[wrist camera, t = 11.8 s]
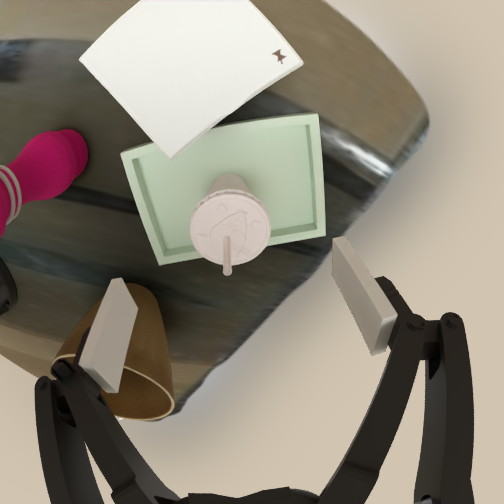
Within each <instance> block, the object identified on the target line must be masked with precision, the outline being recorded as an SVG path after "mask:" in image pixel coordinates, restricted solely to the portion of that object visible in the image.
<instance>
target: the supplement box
mask: <svg viewBox="0 0 504 504" xmlns="http://www.w3.org/2000/svg"><path fill="white" fill-rule="evenodd" d="M79 61H80V62H82V63H83V64H84V65H85V67H86V68H87V69H88V70H89V71H90V72H91V73H92V74H93V75H94V76H95V77H96V79H97V80H98V81H99V82H100V83H101V84H102V85H103V86H104V87H105V88H106V89H107V90H108V91H109V92H110V93H111V95H112V96H113V97H114V98H115V99H116V100H117V101H118V102H119V103H120V104H121V105H122V106H123V108H124V109H125V110H126V111H127V112H128V113H129V114H130V116H131V117H132V118H133V119H134V120H135V121H136V123H137V124H138V125H139V126H140V127H141V128H142V129H143V130H144V132H145V133H146V134H147V135H148V136H149V137H150V138H151V140H152V141H153V142H154V143H155V144H156V145H157V147H158V148H159V149H160V150H161V151H162V152H163V153H164V154H165V156H166V157H167V158H168V159H169V160H173V159H175V158H176V157H177V156H179V155H180V154H181V153H182V152H183V151H184V150H185V149H187V148H188V147H189V146H190V145H191V144H192V143H194V142H195V141H196V140H197V139H198V138H200V137H201V136H202V135H203V134H205V133H206V132H207V131H208V130H210V129H211V128H212V127H213V126H215V125H216V124H217V123H218V122H220V121H221V120H222V119H224V118H225V117H226V116H228V115H229V114H231V113H232V112H234V111H235V110H236V109H238V108H239V107H240V106H241V105H243V104H244V103H245V102H247V101H248V100H250V99H251V98H252V97H254V96H255V95H257V94H258V93H260V92H261V91H263V90H264V89H266V88H267V87H269V86H270V85H272V84H273V83H275V82H276V81H278V80H279V79H281V78H283V77H284V76H286V75H287V74H289V73H291V72H292V71H294V70H296V69H297V68H299V67H301V66H302V65H303V61H302V60H301V58H300V57H299V56H298V54H297V53H296V52H295V51H294V49H293V48H292V47H291V46H290V44H289V43H288V42H287V41H286V39H285V38H284V37H283V36H282V35H281V34H280V32H279V31H278V30H277V29H276V28H275V27H274V26H273V25H272V23H271V22H270V21H269V20H268V19H267V18H266V17H265V16H264V15H263V14H262V13H261V12H260V11H259V10H258V9H257V8H256V7H255V6H254V5H253V4H252V3H251V2H250V1H249V0H141V1H139V2H138V3H137V4H136V5H134V6H133V7H132V8H131V9H129V10H128V11H127V12H126V13H125V14H124V15H122V16H121V17H120V18H119V19H118V20H117V21H116V22H115V23H114V24H112V25H111V26H110V27H109V28H108V29H107V30H106V31H105V32H104V33H103V34H102V35H101V36H100V37H99V38H98V39H97V40H96V41H95V42H94V43H93V44H92V46H91V47H90V48H89V49H88V50H87V51H86V52H85V53H84V54H83V55H82V56H81V57H80V59H79Z"/></svg>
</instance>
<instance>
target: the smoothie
mask: <svg viewBox="0 0 504 504" xmlns="http://www.w3.org/2000/svg"><path fill="white" fill-rule="evenodd" d="M270 233H271V225H270V218H269V214H268V212H267V210H266V207H265V206H264V205H263V204H262V202H261V201H260V200H259V199H258V198H256V197H255V196H253V194H252V193H251V191H250V190H249V188H248V187H247V185H246V183H245V182H244V180H243V179H242V178H241V177H240V176H238V175H236V174H233V173H225V174H222V175H220V176H219V177H217V178H216V179H215V181H214V182H213V184H212V186H211V188H210V189H209V191H208V193H207V195H206V197H205V198H203V199H202V200H201V201H200V202H199V203H198V204H197V206H196V207H195V209H194V210H193V213H192V216H191V219H190V238H191V241H192V243H193V245H194V247H195V249H196V250H197V251H198V252H199V253H200V254H201V255H202V256H203V257H204V258H206V259H208V260H209V261H212V262H214V263H217V264H221V265H223V273H224V275H227V276H228V275H231V273H232V265H238V264H242V263H245V262H248V261H250V260H252V259H254V258H255V257H256V256H258V255H259V254H260V253H261V252H262V251H263V250H264V248H265V247H266V245H267V243H268V241H269V238H270Z"/></svg>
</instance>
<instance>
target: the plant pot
mask: <svg viewBox="0 0 504 504" xmlns="http://www.w3.org/2000/svg"><path fill="white" fill-rule="evenodd" d="M125 285H126V287H127V289H128V291H129V293H130V295H131V297H132V298H133V300H134V302H135V304H136V306H137V307H138V311H137V315H136V319H135V322H134V326H133V330H132V334H131V337H130V341H129V345H128V349H127V354H126V358H125V362H124V366H123V371H122V376H121V380H120V385H119V390H118V393H107V392H105V391H104V390H103V389H102V388H101V390H100V393H101V394H102V395H103V397H104V399H105V400H106V402H107V404H108V406H109V407H110V409H111V411H112V412H113V414H114V416H115V417H119V418H124V419H131V420H153V419H158V418H161V417H164V416H166V415H168V414H169V413H171V412H172V410H173V409H174V394H173V384H172V374H171V364H170V357H169V351H168V344H167V339H166V334H165V329H164V324H163V320H162V316H161V313H160V309H159V305H158V302H157V299H156V298H155V296H154V295H153V294H152V292H151V291H149V290H148V289H147V288H145V287H143V286H141V285H138V284H135V283H125ZM103 298H104V297H103ZM103 298H101V299H100V300H99V301H98V302H97V303H96V304H95V305H94V306H93V307H92V308H91V309H90V310H89V311H88V312H87V314H86V315H85V316H84V317H83V318H82V319H81V321H80V322H79V323H78V324H77V326H76V327H75V328H74V330H73V331H72V332H71V334H70V335H69V337H68V338H67V339H66V341H65V343H64V344H63V346H62V347H61V349H60V351H59V352H58V354H57V356H56V357H55V359H54V361H53V363H54V362H55V361H56V360H57V359H59V358H63V357H64V358H67V360H68V361H69V362H70V363H71V364H72V363H73V360H74V357H75V355H76V352H77V349H78V348H79V347H78V346H79V344H80V342H81V338H82V336H83V334H84V332H85V331H86V330H87V328H88V327H92V325H93V322H94V320H95V317H96V315H97V312H98V310H99V307H100V305H101V303H102V300H103ZM53 363H52V365H53ZM54 378H55V377H54ZM55 380H56V378H55Z"/></svg>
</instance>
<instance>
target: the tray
mask: <svg viewBox="0 0 504 504" xmlns="http://www.w3.org/2000/svg"><path fill="white" fill-rule="evenodd" d="M120 154H121V157H122V161H123V164H124V168H125V171H126V174H127V177H128V180H129V184H130V187H131V190H132V193H133V196H134V199H135V202H136V205H137V208H138V211H139V213H140V216H141V219H142V222H143V225H144V227H145V230H146V233H147V235H148V238H149V241H150V243H151V246H152V248H153V251H154V253H155V256H156V258H157V261H158V263H159V265H164V264H169V263H175V262H180V261H186V260H191V259H197V258H202V257H203V256H202V255H201V254H200V253H199V252H198V251H197V250H196V249H195V247H194V245H193V243H192V241H191V238H190V219H191V216H192V213H193V210H194V209H195V207H196V206H197V204H198V203H199V202H200V201H201V200H202V199H203V198H205V197H206V195H207V193H208V191H209V189H210V188H211V186H212V184H213V182H214V181H215V179H216V178H217V177H219V176H220V175H222V174H225V173H233V174H236V175H238V176H240V177H241V178H242V179H243V180H244V182H245V183H246V185H247V187H248V188H249V190H250V191H251V193H252V194H253V196H255V197H256V198H258V199H259V200H260V201H261V202H262V204H263V205H264V206H265V207H266V210H267V212H268V214H269V218H270V225H271V233H270V238H269V241H268V243H267V245H266V246H269V245H275V244H281V243H286V242H292V241H298V240H303V239H309V238H314V237H320V236H326V230H325V199H324V180H323V164H322V151H321V139H320V128H319V118H318V114H316V113H313V112H306V113H295V114H286V115H277V116H269V117H262V118H255V119H249V120H243V121H237V122H231V123H226V124H221V125H216V126H213V127H212V128H211V129H210V130H208V131H207V132H206V133H205V134H203V135H202V136H201V137H200V138H198V139H197V140H196V141H195V142H194V143H192V144H191V145H190V146H189V147H188V148H187V149H185V150H184V151H183V152H182V153H181V154H180V155H179V156H177V157H176V158H175V159H173V160H169V159H168V158H167V157H166V156H165V154H164V153H163V152H162V151H161V150H160V149H159V148H158V147H157V145H156V144H155V143H154V142H153V141H151V142H147V143H144V144H141V145H137V146H134V147H131V148H128V149H126V150H125V151H123V152H122V153H120Z"/></svg>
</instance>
